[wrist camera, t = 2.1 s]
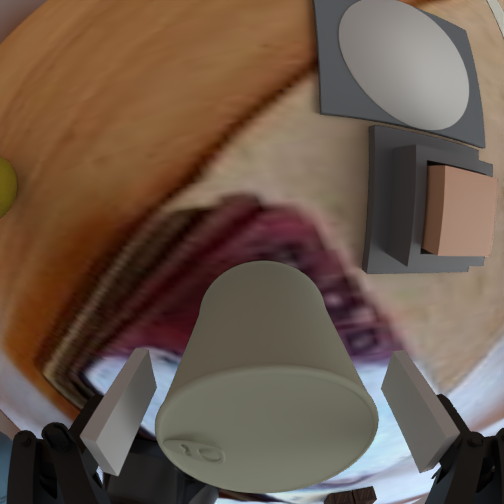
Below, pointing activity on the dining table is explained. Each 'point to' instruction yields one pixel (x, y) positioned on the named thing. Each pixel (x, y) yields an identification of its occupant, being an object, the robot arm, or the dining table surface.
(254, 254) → the dining table surface
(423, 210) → the button base
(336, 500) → the stack of crates
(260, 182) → the dining table surface
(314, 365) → the can
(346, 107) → the slate board
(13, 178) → the lemon
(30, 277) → the dining table surface
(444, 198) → the button
